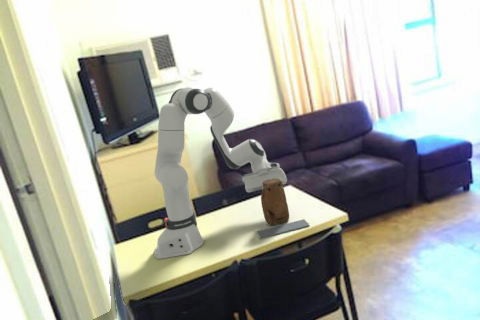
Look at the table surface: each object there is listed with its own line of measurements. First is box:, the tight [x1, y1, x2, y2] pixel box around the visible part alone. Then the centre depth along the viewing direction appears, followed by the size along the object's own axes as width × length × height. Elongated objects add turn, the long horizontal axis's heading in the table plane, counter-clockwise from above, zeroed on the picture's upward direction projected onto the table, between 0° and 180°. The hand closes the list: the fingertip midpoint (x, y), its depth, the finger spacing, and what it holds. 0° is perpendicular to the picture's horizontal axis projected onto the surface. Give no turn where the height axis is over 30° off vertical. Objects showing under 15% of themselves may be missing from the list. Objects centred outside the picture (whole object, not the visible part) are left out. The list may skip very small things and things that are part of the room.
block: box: [260, 178, 290, 226], centre depth 190 cm, size 11×8×20 cm
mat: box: [257, 218, 310, 240], centre depth 183 cm, size 22×8×1 cm, turn 99°
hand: (269, 195), depth 196 cm, fingers closed
